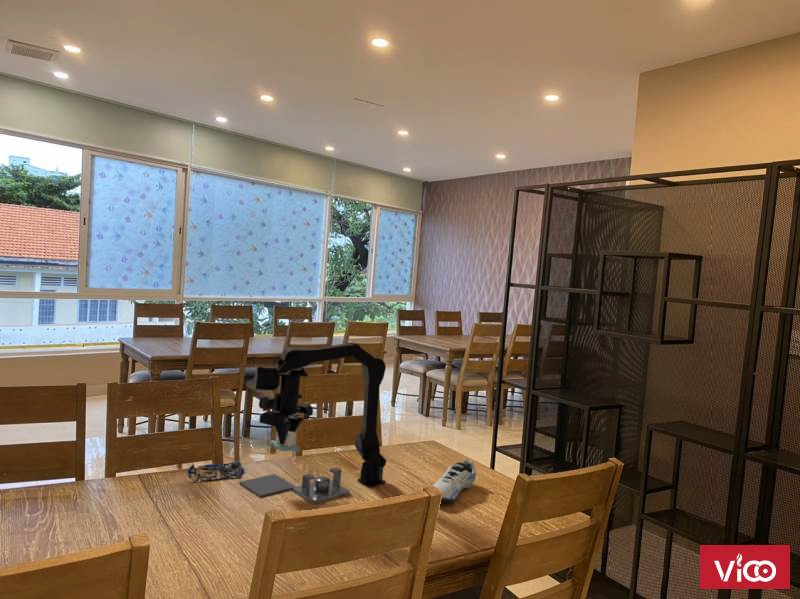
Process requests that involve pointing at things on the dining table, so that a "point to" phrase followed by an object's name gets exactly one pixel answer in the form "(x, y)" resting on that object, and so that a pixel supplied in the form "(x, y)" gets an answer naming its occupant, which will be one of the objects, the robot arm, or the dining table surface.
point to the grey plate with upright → (321, 487)
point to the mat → (267, 485)
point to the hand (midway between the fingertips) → (284, 442)
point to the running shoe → (456, 479)
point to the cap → (285, 443)
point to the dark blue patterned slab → (222, 471)
